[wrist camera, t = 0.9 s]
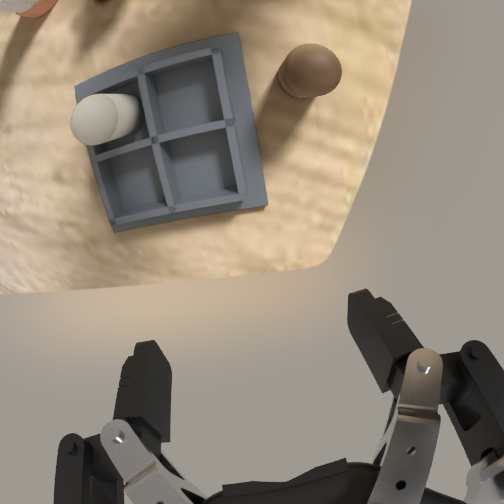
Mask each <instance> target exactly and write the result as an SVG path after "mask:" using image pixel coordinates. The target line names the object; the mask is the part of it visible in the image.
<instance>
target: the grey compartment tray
mask: <svg viewBox="0 0 504 504" xmlns="http://www.w3.org/2000/svg"><path fill="white" fill-rule="evenodd" d="M74 87H75V93H76V98H77V104H78V103H79V102H80V101H81V100H83V99H84V98H86V97H88V96H90V95H93V94H132V95H135V96H137V97H138V98H139V99H140V100H141V101H142V103H143V108H144V113H145V119H144V122H143V124H142V125H141V127H140V128H139V129H138V130H137V131H136V132H135V133H133V134H130V135H127V136H124V137H120V138H117V139H114V140H111V141H108V142H105V143H102V144H98V145H87V148H88V152H89V156H90V160H91V164H92V167H93V171H94V174H95V178H96V181H97V184H98V188H99V191H100V194H101V197H102V200H103V203H104V206H105V209H106V212H107V215H108V218H109V221H110V224H111V227H112V229H113V232H114V233H116V232H120V231H125V230H130V229H135V228H140V227H145V226H150V225H155V224H160V223H165V222H170V221H176V220H181V219H187V218H192V217H198V216H204V215H209V214H215V213H221V212H227V211H234V210H240V209H246V208H253V207H259V206H266V205H268V200H267V194H266V188H265V181H264V175H263V169H262V163H261V157H260V151H259V145H258V139H257V133H256V127H255V122H254V116H253V110H252V105H251V99H250V94H249V88H248V83H247V77H246V72H245V67H244V61H243V56H242V51H241V46H240V41H239V36H238V32H237V33H231V34H226V35H221V36H216V37H211V38H206V39H202V40H198V41H194V42H190V43H186V44H182V45H179V46H175V47H172V48H168V49H165V50H162V51H159V52H155V53H152V54H149V55H147V56H144V57H141V58H138V59H135V60H133V61H130V62H127V63H125V64H122V65H120V66H117V67H115V68H113V69H110V70H108V71H106V72H103V73H101V74H99V75H97V76H95V77H93V78H90V79H88V80H86V81H84V82H82V83H80V84H78V85H76V86H74Z"/></svg>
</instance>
